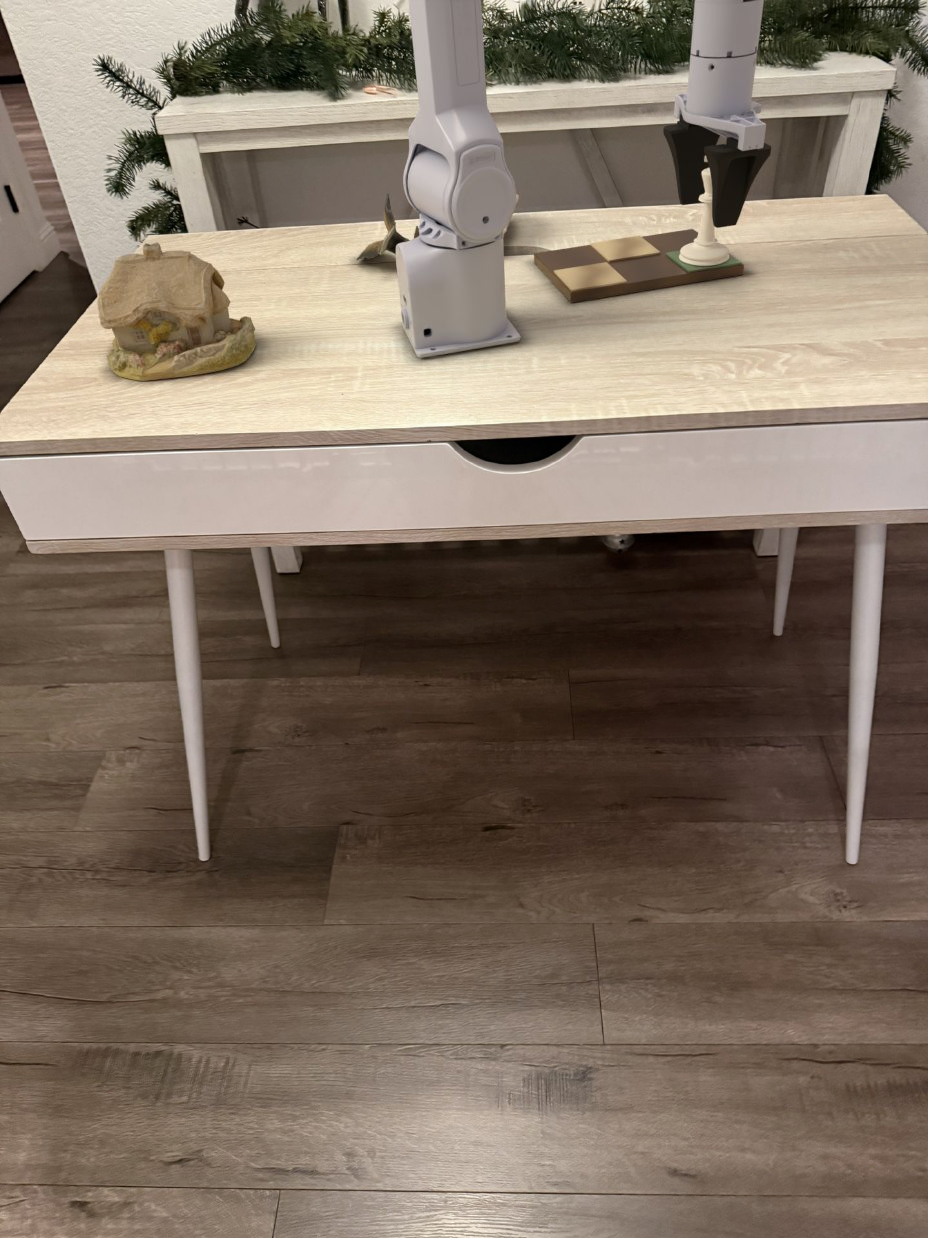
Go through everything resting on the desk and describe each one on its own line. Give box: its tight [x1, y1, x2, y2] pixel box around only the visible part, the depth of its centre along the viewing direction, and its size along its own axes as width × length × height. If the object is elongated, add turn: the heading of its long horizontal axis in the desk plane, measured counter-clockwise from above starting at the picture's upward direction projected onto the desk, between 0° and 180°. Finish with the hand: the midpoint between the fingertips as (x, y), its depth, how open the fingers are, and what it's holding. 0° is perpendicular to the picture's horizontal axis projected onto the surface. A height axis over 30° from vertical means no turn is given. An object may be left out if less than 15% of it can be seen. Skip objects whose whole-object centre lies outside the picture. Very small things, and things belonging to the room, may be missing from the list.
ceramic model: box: [96, 242, 256, 382], centre depth 82 cm, size 14×11×10 cm
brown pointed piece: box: [356, 193, 419, 261], centre depth 98 cm, size 8×7×9 cm
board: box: [533, 228, 745, 303], centre depth 94 cm, size 18×12×1 cm, turn 104°
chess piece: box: [679, 156, 730, 266], centre depth 89 cm, size 5×5×10 cm
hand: (707, 213), depth 89 cm, fingers open, 7 cm apart
